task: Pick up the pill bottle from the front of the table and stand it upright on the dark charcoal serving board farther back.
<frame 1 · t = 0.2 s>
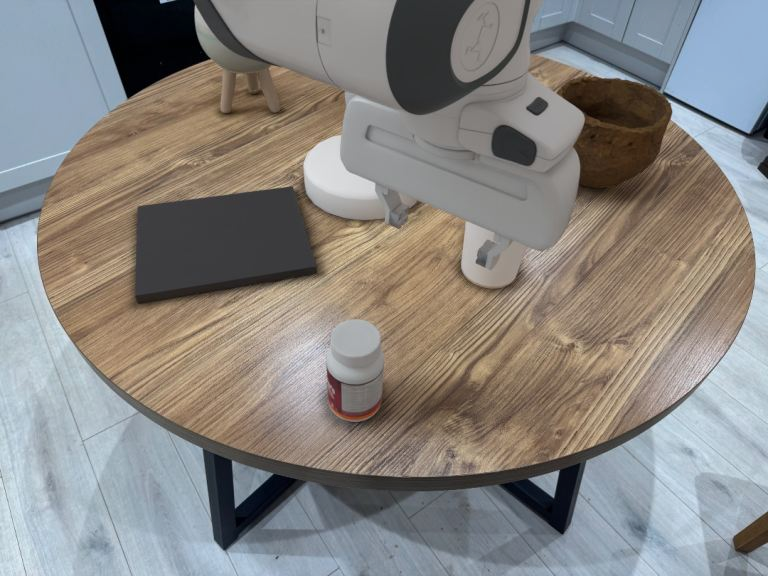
hand: (439, 242, 51), 22 cm above the table, tool pointing down, fingers open, 8 cm apart
planter: (252, 106, 115), on the table
mug: (484, 266, 83), on the table
container: (363, 185, 97), on the table
bowl: (587, 179, 101), on the table
pill bottle: (355, 402, 66), on the table
board: (224, 242, 84), on the table
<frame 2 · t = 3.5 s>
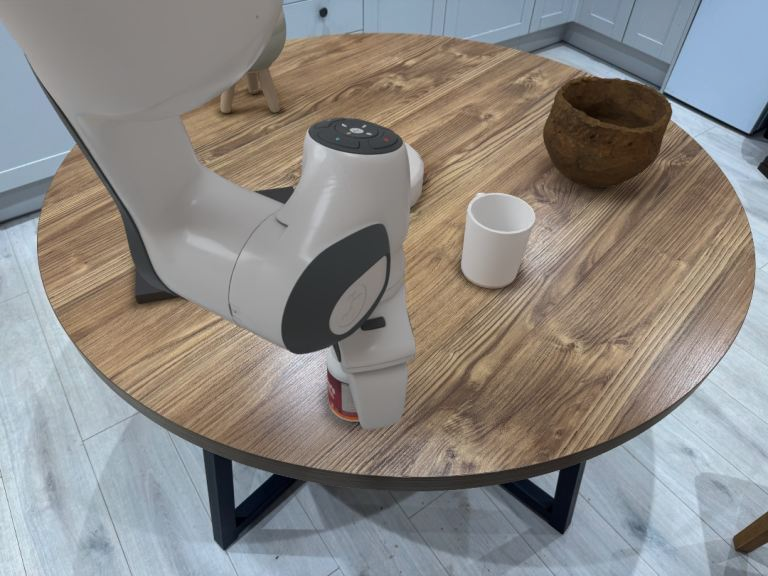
hand: (355, 376, 62), 5 cm above the table, tool pointing down, fingers closed on pill bottle, 6 cm apart
pill bottle: (355, 402, 66), on the table, touching gripper
everything else where it was.
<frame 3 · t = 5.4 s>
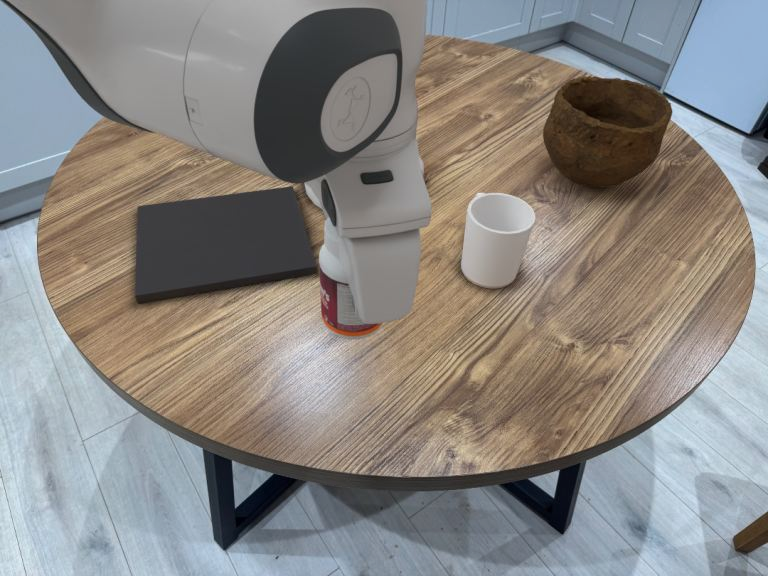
hand: (353, 283, 52), 19 cm above the table, tool pointing down, fingers closed on pill bottle, 6 cm apart
pill bottle: (353, 320, 55), point 14 cm above the table, touching gripper
everything else where it was.
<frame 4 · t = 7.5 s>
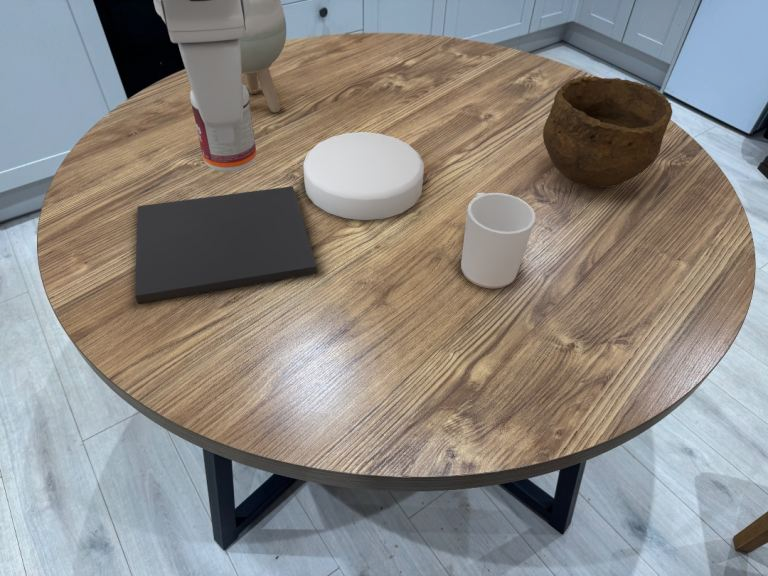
hand: (224, 123, 63), 23 cm above the table, tool pointing down, fingers closed on pill bottle, 6 cm apart
pill bottle: (231, 160, 67), point 18 cm above the table, touching gripper
everything else where it was.
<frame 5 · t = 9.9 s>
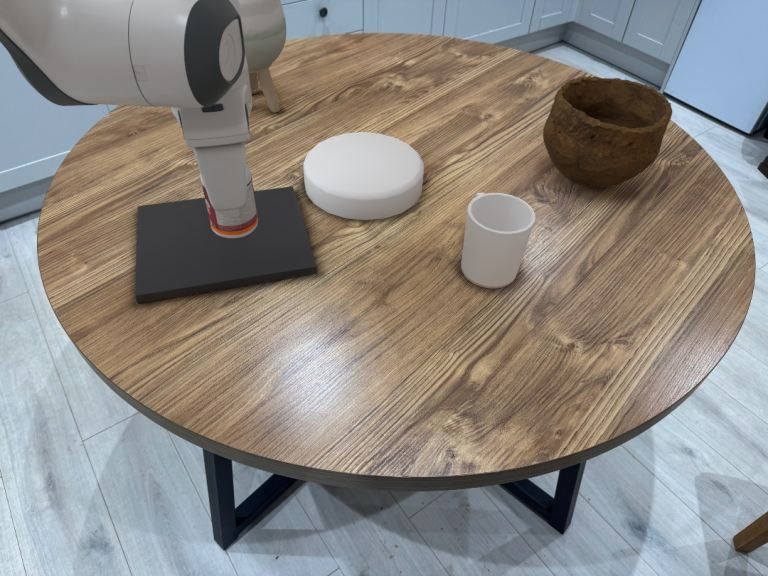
hand: (229, 196, 72), 12 cm above the table, tool pointing down, fingers closed on pill bottle, 6 cm apart
pill bottle: (235, 226, 76), point 7 cm above the table, touching gripper
everything else where it was.
when the fingers open (6 cm above the table, at t = 11.9 s): pill bottle stays where it is, resting on board.
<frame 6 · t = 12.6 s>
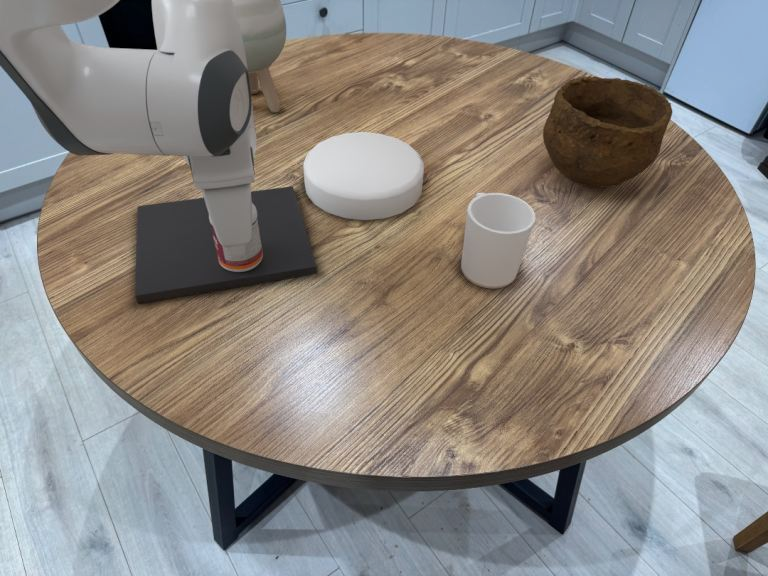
hand: (234, 228, 76), 7 cm above the table, tool pointing down, fingers open, 8 cm apart
pill bottle: (241, 260, 80), point 1 cm above the table, touching board
everything else where it was.
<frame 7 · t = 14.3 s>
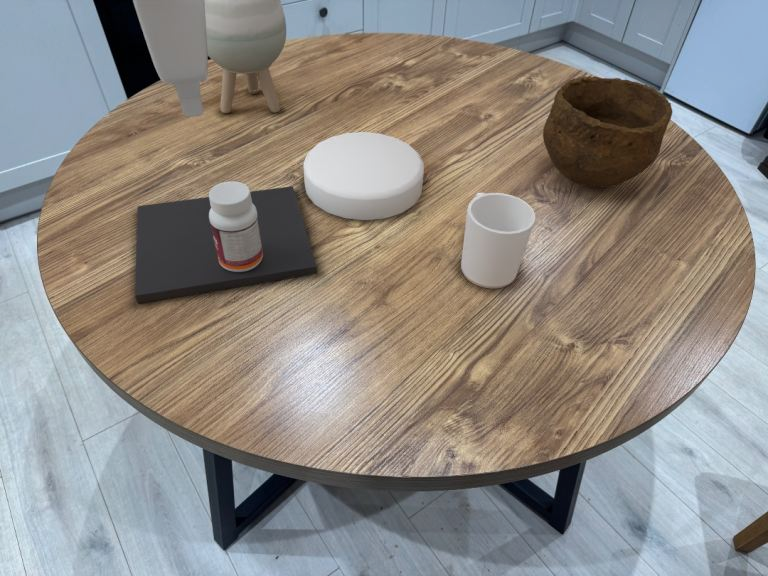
hand: (190, 90, 55), 30 cm above the table, tool pointing down, fingers open, 8 cm apart
nothing on the table moved.
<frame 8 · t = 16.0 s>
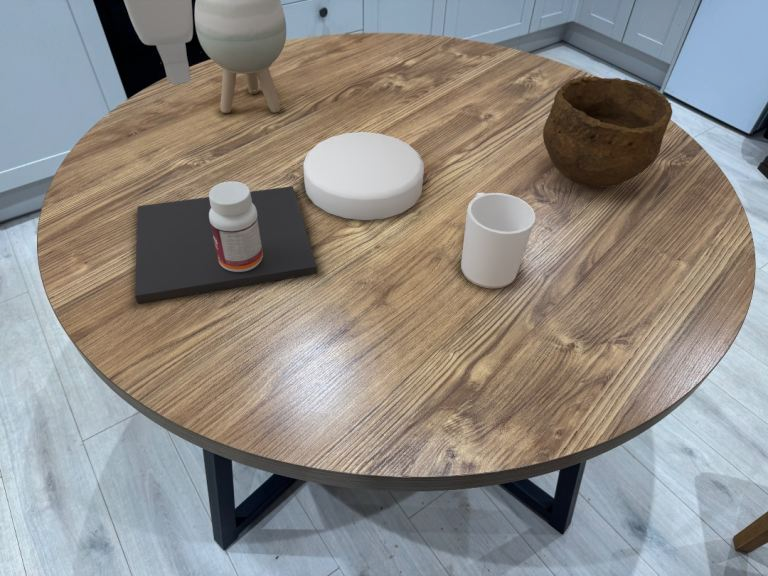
hand: (178, 56, 50), 34 cm above the table, tool pointing down, fingers open, 8 cm apart
nothing on the table moved.
at the end: pill bottle inside the target area on the board (6.4 cm from its centre), point 1.3 cm above the board's base; pill bottle tilted 0°; the gripper is holding nothing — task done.
